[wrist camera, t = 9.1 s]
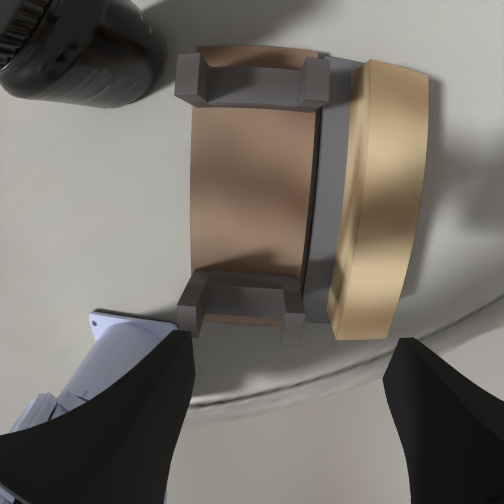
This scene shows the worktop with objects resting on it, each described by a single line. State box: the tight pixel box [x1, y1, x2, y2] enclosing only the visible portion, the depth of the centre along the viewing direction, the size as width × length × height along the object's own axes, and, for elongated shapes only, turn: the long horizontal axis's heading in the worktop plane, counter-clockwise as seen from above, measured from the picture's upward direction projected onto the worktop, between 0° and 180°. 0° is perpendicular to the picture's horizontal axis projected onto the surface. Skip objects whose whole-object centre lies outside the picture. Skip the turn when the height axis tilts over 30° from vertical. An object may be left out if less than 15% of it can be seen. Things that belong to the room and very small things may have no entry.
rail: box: [326, 59, 429, 340], centre depth 15 cm, size 16×4×4 cm, turn 177°
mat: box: [302, 56, 365, 323], centre depth 17 cm, size 18×7×1 cm, turn 177°
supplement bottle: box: [0, 0, 166, 108], centre depth 9 cm, size 7×7×12 cm
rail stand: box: [174, 46, 330, 344], centre depth 15 cm, size 18×7×6 cm, turn 177°
